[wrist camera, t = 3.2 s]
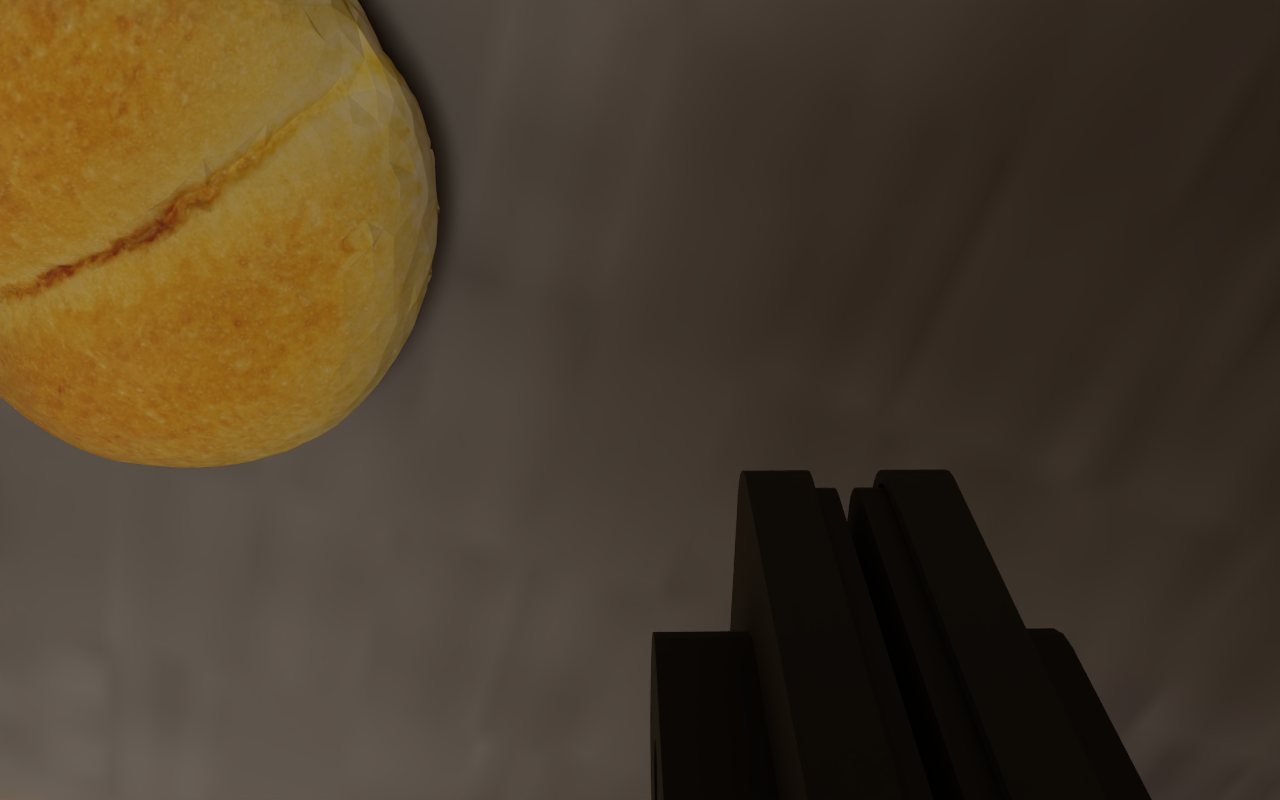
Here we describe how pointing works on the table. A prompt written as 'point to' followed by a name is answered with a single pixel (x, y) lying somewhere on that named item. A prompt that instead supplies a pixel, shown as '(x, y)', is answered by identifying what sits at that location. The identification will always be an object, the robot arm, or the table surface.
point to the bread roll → (204, 222)
